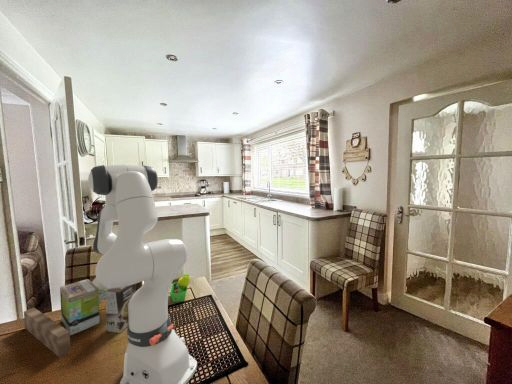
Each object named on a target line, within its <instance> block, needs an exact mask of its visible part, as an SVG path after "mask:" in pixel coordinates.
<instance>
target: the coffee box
mask: <svg viewBox="0 0 512 384" xmlns="http://www.w3.org/2000/svg"><path fill="white" fill-rule="evenodd" d="M136 285H137V283H136V284H133V285H130V286H126V287H120V288H113V289H108V290H106V291H105V294H106V298H105V319H106V321H105V322H106V331H107V332H111V333H112V332H113V333H118V334H119V333H122V332H123V331H124V330H125V329H127V327H128V324H129V319H128V303H129V301H130V299H131V297H132V295H133V294H134V293H135V292H136V291H137V290H136Z"/></svg>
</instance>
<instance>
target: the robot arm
mask: <svg viewBox="0 0 512 384" xmlns="http://www.w3.org/2000/svg"><path fill="white" fill-rule="evenodd" d="M87 179H88V180H87V181H88V185H89V187H90V188H91V190H92V192H93V193H95V194H96V195H100V196H105V204H104V205H103V206H102V207H101V208H100V210H99V212H98V219H97V225H96V233H95V237H94V240H93V244H92V248H93V252H94V253H96V254H98V255H102V256H101V257H100V258H99V260H98V261H97V263H96V266H95V269H94V270H95V273H94V274H95V277H94V279H93V281H91V282H92V283H93V284H94V285H95V286H96V287H97V288H98V289H99V305H100V304H101V303H102V301H103V300H106V294H105V291H106V290H108V289H113V288H120V287H126V286H130V285H133V284H136V285H137V284H138V283H141V282H144V283H143V284H142V285H141V286H140V288H138V289H137V290H136V292H135V293H134V294H133V295H132V297H131V299H130V301H129V303H128V319H129V324H128V326H127V327H126V329H127V330H126V337H127V341H128V343H127V348H126V349H125V353H124V357H123V358H124V359H123V361H124V362H123V375H122V378H121V379H120V382H119V384H187V383H189V381H190V380H191V379H192V377H193V376H194V375H195V372H196V371H197V367H198V361H197V360H196V359H195V358H194V357H193V356H192V355H191V354H189V350H188V347H187V345H186V339H185V337H184V336H181V337H179V335H178V333H176V330H174V327H175V326H174V325H175V323H172V321H171V318H170V316H169V312H168V311H169V309H168V306H169V305H168V304H169V294H170V290H171V287H172V285H173V282H174V279H175V277H176V275H178V272H179V271H180V270H181V269H182V268H183V267H184V266H185V264H186V262H187V260H188V255H189V254H188V248H187V246H186V244H185V243H184V242H183V241H182V240H181V239H179V238H178V239H177V238H169V239H168V238H166V239H159V240H154V241H150V242H146V243H145V242H143V241H144V240H143V237H144V235H146V234H147V233H148V232H150V231H151V230H153V229H154V228H155V226H156V225H157V223H158V212H157V207H156V204H155V199H154V195H153V194H154V193H153V191H155V190H156V189H157V188H158V183H159V177H158V173H157V171H156V170H155V168H154V167H152V166H149V165H133V164H132V165H131V164H112V165H111V164H110V165H104V164H103V165H97V166H93V167H92V168H91V169H90V172H89V175H88V178H87ZM114 221H118V223H117V225H118V230H117V235H116V234H115V233H114V232H113V225H114Z"/></svg>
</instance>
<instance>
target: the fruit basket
mask: <svg viewBox="0 0 512 384" xmlns="http://www.w3.org/2000/svg"><path fill="white" fill-rule="evenodd" d="M190 279H191V277H190V274H188V273H185V274H183V276H181V277H180V278H178V281H177V282H172V284H171V287H170V290H169V295H170V296H171V301H172V302H173V303H179V302H184V301H186V299H185V298H186V295H187V291H188V287H189V284H190Z"/></svg>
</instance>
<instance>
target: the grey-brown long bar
mask: <svg viewBox="0 0 512 384" xmlns="http://www.w3.org/2000/svg"><path fill="white" fill-rule="evenodd" d="M23 321H24V330H26V331H27V332H28V333H29V334H31V336H33V337H35V338H36V339H37V340H38V341H39V342H40V343H41V344H43V345H44V346H45V347H47V348H48V349H49V350H50V351H51V352H52V353H54V354H55V355H56V356H57V357H58V358H61V357H63V356H64V355H66V354H67V353H70V352H71V335H70V332H69V331H68V330H67V329H66V327H64V326H62V325H60V324H59V323H58V322H56V321H55V320H53V319H52V318H50V317H48V315H45V313H43V312H41V310H38V309H37V308H35V307H32V308H30V309H27V310H25V311H23Z"/></svg>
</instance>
